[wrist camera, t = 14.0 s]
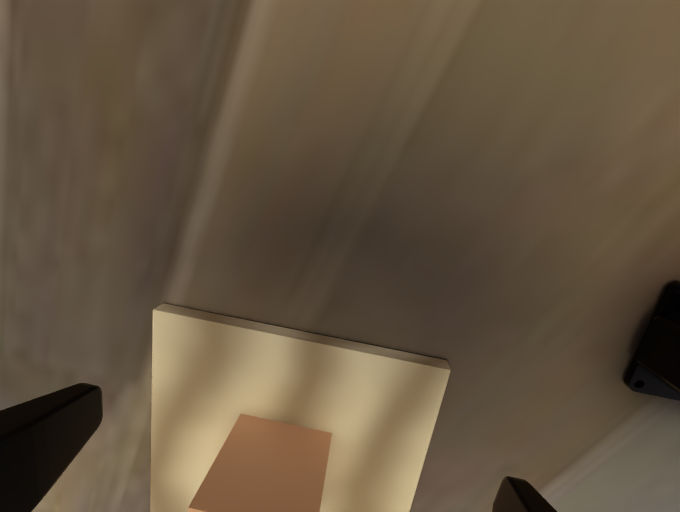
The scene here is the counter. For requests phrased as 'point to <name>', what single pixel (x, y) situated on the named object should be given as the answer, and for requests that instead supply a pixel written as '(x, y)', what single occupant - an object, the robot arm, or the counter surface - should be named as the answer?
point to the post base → (289, 405)
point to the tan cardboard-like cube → (266, 469)
